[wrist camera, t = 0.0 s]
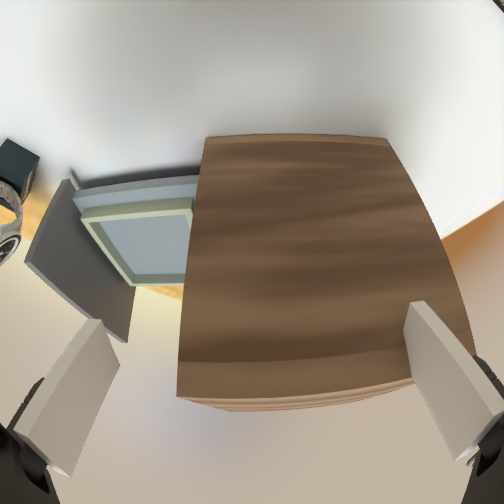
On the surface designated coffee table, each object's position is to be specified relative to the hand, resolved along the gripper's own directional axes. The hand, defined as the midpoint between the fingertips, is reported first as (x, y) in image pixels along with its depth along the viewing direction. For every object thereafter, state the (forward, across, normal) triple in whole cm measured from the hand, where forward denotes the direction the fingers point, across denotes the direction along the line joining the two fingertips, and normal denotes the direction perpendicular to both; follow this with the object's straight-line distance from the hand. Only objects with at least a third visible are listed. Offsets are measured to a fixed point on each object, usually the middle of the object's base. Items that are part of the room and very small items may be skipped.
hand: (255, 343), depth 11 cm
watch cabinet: (+18, +4, 0) cm, 18 cm away
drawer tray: (+17, -10, -1) cm, 19 cm away
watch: (+12, -22, +10) cm, 27 cm away
